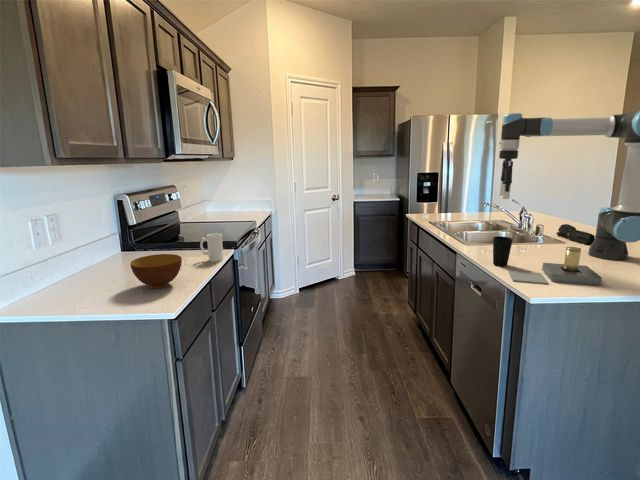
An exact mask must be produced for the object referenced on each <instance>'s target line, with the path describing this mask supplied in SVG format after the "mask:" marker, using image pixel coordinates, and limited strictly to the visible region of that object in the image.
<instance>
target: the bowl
mask: <svg viewBox="0 0 640 480" xmlns="http://www.w3.org/2000/svg"><path fill="white" fill-rule="evenodd" d="M182 260H183V259H182V257H181V256H180V255H178V254H172V253H160V254H159V253H157V254H150V255H146V256H145V255H144V256H141V257H137V258H135V259H133V260H131V262H130V264H129V265H130V268H131V272H132V273H133V275H134V276H135V277H136V279H137V280H138V281H139V282H141V283H142V284H143V285H147V286H150V288H151V289H162V288H166V287H168V285H169V283H172V281H174V279H176V277H177V276H178V274H179V272H180V271H181V268H182Z"/></svg>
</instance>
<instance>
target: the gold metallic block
mask: <svg viewBox="0 0 640 480" xmlns="http://www.w3.org/2000/svg"><path fill="white" fill-rule="evenodd" d="M581 252H582V248H580V247H576V246H566V248H565V255H564V261H563V262H564V263H563V264H564V268H563V271H565V272H578V266H579V265H580V260H581V259H580V257H581Z"/></svg>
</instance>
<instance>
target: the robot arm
mask: <svg viewBox="0 0 640 480" xmlns="http://www.w3.org/2000/svg"><path fill="white" fill-rule="evenodd" d="M502 118H503V119H502V125H501V135H500V142H499V143H498V144H499V145H500V146H499V147H500V151H499V154H498V159H501V160H503V161H502V166H501V175H500V189H499V196H501V197H502V200H510V197H511V196H510V195H511V186H512V183H513V167H514V162H513V161H512V160H517V159H518V157H519V151H518V149H520V141H521V140H520V139H521V138H520V137H521V136H522V137H526V138H530V137H570V136H572V137H573V136H574V137H576V136H578V137H580V136H605V137H606V138H618V139H624V142H623V144H624V146H626V147H627V152H626V157H625V162H624V169H623V173H622V174H623V175H622V179H621V180H622V181H621V185H620V191H619V194H618V195H619V197H618V203H617V205H616V206H614V207H608V206H607V207H601V208H600V209H599V212H598V217H597V224H596V229H595V231H596V232H595V235H594V236H595V239H594V241H593V243H592V244H591V245H590V247H589V248H588V252H587V253H588V255H589V256H591V257H594V258H598V259H603V260H609V261H610V260H613V261H624V260H623V259H626V260H628V259H629V251H628V245H627V243H629V244H630V243H636V242H639V241H640V110H634V111H631V112H626V113H621V114H611V115H609V116H607V117H605V116H604V117H581V118H580V117H578V118H574V117H573V118H552V117H544V116H543V117H523V114H522V112H521V113H519V112H518V113H515V112H514V113H506V114H504V115H503V117H502ZM627 258H628V259H627Z"/></svg>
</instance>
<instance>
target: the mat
mask: <svg viewBox="0 0 640 480" xmlns="http://www.w3.org/2000/svg"><path fill="white" fill-rule="evenodd" d="M508 274H509V276H510V278H511V280H512V282H513V281H514V282H515V283H525V282H526V283H527V284H537V285H549V282H548V280H547V278H545V276H544V275H543V274H542V273H541V272H529V271H527V272H526V271H514V270H508Z"/></svg>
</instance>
